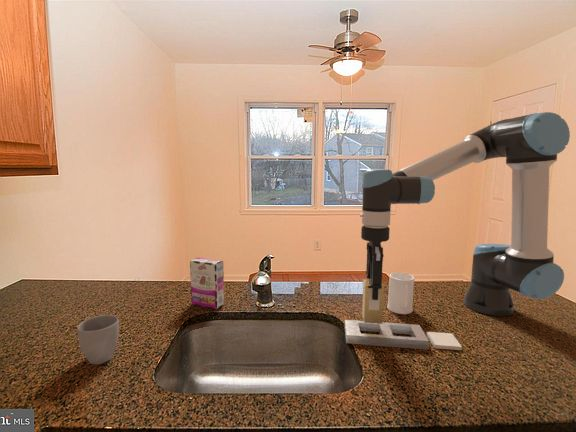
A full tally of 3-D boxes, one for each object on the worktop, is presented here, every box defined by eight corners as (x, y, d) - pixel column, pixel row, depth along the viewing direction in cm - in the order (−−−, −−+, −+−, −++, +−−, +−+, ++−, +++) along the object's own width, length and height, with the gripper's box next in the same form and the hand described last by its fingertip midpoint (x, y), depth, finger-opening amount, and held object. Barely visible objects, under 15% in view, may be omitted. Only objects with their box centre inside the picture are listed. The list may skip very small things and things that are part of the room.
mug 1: (112, 367, 75) (109, 330, 73) (73, 370, 73) (69, 332, 72) (130, 340, 86) (128, 308, 85) (96, 342, 85) (93, 310, 84)
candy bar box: (225, 304, 111) (224, 260, 108) (216, 310, 106) (215, 264, 104) (199, 299, 115) (198, 256, 112) (190, 304, 110) (189, 260, 108)
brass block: (379, 315, 91) (380, 277, 89) (382, 323, 86) (384, 283, 85) (362, 314, 92) (363, 276, 90) (364, 322, 87) (365, 282, 85)
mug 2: (417, 319, 100) (420, 284, 99) (390, 317, 102) (393, 283, 100) (409, 304, 112) (411, 273, 110) (385, 302, 113) (387, 271, 111)
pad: (451, 336, 90) (452, 333, 90) (461, 350, 83) (462, 346, 83) (426, 334, 91) (427, 331, 91) (434, 348, 84) (435, 344, 84)
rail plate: (418, 332, 92) (419, 324, 92) (428, 349, 83) (429, 341, 83) (344, 327, 95) (344, 319, 95) (346, 343, 86) (346, 334, 86)
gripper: (358, 220, 94) (356, 292, 98) (365, 231, 77) (362, 319, 80) (383, 220, 93) (380, 293, 97) (396, 232, 76) (392, 320, 79)
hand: (372, 304), depth 88 cm, fingers closed on brass block, 5 cm apart
